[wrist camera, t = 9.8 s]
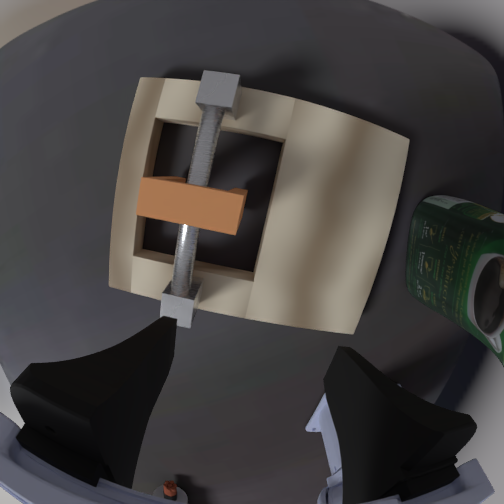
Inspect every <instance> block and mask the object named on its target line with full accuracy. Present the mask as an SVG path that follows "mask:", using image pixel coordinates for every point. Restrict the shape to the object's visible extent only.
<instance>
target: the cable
mask: <svg viewBox="0 0 504 504" xmlns="http://www.w3.org/2000/svg"><path fill="white" fill-rule="evenodd" d="M153 496H156V497H160V498H164V499H168V500H172V501H177V502H182V503H187V502H188V497H187V494H186V493H185V491H183V490H182V489H181V488H179V487H177V484H174V481H170V482H169V481H165V484H164V485H161V486H159V487H158V488H156V489H155V491H154V492H153Z"/></svg>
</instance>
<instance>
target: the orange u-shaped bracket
mask: <svg viewBox="0 0 504 504" xmlns="http://www.w3.org/2000/svg"><path fill="white" fill-rule="evenodd" d="M185 182H186V178H181V177H176V176H162V177H141V182H140V188H139V195H138V202H137V209H136V215H140V216H145V217H150V218H155V219H160V220H164V221H169V222H174V223H179V224H184V225H189V226H194V227H198V228H203V229H208V230H213V231H217V232H222V233H227V234H232V235H236V233H237V230H238V227H239V224H240V222H241V219H242V215H243V210H244V206H245V201H246V197H247V192H248V190H244V189H239V188H233V189H231V190H229V191H225V190H220V189H215V188H210V187H205V186H199V185H194V184H188V183H185Z"/></svg>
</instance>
